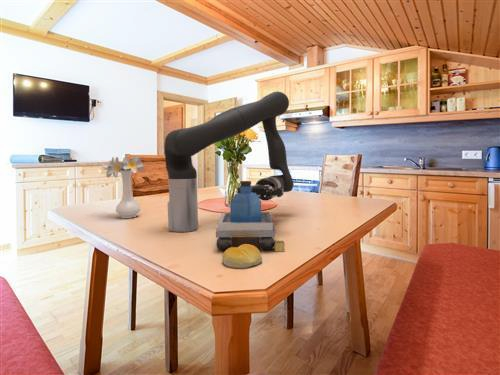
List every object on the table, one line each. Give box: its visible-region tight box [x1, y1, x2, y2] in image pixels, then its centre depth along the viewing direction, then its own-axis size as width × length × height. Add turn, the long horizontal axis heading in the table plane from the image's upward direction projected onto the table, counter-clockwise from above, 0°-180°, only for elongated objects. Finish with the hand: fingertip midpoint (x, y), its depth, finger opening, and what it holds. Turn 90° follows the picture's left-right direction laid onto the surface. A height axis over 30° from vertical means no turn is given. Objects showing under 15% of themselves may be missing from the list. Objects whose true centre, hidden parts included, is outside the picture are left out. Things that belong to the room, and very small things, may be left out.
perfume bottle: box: [229, 180, 262, 222], centre depth 80 cm, size 6×6×12 cm
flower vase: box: [101, 155, 147, 219], centre depth 116 cm, size 13×18×25 cm
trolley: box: [215, 211, 286, 253], centre depth 80 cm, size 18×15×8 cm
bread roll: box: [221, 243, 263, 269], centre depth 67 cm, size 8×9×4 cm
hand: (253, 194), depth 86 cm, fingers open, 8 cm apart
